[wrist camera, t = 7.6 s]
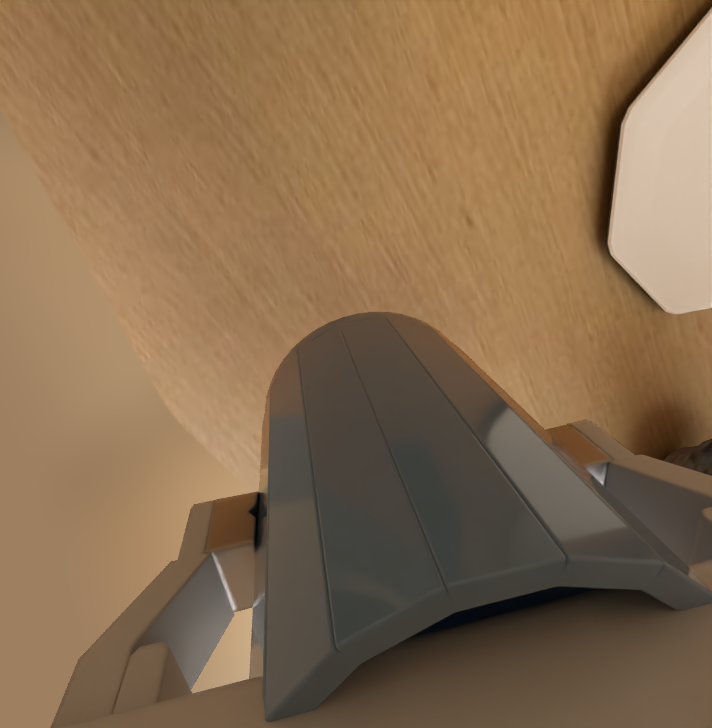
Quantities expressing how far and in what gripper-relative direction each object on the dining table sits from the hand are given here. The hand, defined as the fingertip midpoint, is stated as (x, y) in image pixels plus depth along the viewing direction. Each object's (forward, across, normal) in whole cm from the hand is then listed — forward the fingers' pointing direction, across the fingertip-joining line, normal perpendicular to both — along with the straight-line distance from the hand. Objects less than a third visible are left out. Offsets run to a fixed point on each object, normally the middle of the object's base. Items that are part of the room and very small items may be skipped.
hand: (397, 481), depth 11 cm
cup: (+4, 0, 0) cm, 4 cm away
